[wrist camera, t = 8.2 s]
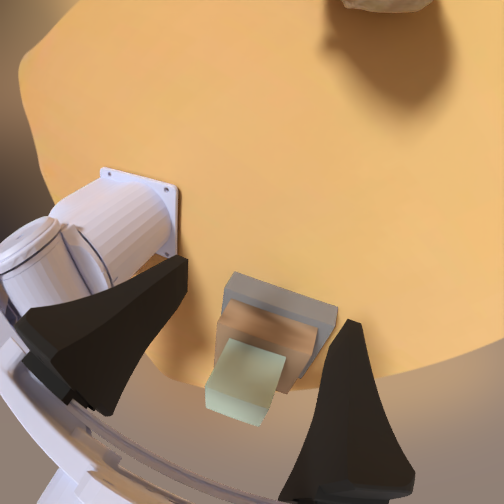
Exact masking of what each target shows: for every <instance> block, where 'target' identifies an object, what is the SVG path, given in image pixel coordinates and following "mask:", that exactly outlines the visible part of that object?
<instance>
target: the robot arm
mask: <svg viewBox="0 0 504 504" xmlns="http://www.w3.org/2000/svg"><path fill="white" fill-rule="evenodd" d="M166 187H167V188H168V189H169V191H168V190H167V188H166ZM177 218H178V188H177V187H176V186H175V185H173V184H169V183H165V182H162V181H158V180H154V179H150V178H147V177H143V176H139V175H135V174H131V173H127V172H123V171H119V170H115V169H111V168H107V167H103V168H101V169H100V178H98V179H96V180H95V181H93V182H91V183H89V184H87V185H86V186H84V187H82V188H80V189H79V190H77V191H75V192H74V193H72V194H70V195H69V196H67V197H65V198H64V199H62V200H61V201H59V202H58V203H57V204H56V205H55V206H54V208H53V209H52V210H51V212H50V214H49V216H45V217H41V218H39V219H36V220H34V221H32V222H30V223H29V224H27V225H25V226H23V227H22V228H20V229H19V230H17V231H16V232H14V233H13V234H11V235H10V236H9V237H8V238H6V239H5V240H4V241H3V242H2V243H1V244H0V394H1V396H2V397H3V399H4V400H5V402H6V403H7V405H8V406H9V408H10V409H11V410H12V412H13V413H14V415H15V416H16V417H17V419H18V420H19V421H20V423H21V424H22V425H23V427H24V428H25V429H26V430H27V432H28V433H29V434H30V435H31V437H32V438H33V439H34V440H35V441H36V442H37V443H38V445H39V446H40V447H41V448H42V449H43V450H44V452H45V453H46V454H47V455H48V456H49V457H50V458H51V459H52V460H53V461H54V462H55V463H56V464H57V465H58V466H59V469H58V470H57V472H56V473H55V475H54V476H53V478H52V479H51V481H50V483H49V484H48V486H47V488H46V489H45V491H44V492H43V494H42V496H41V497H40V499H39V500H38V502H37V504H195V503H193V502H190V501H188V500H186V499H183V498H181V497H179V496H177V495H175V494H173V493H170V492H168V491H166V490H164V489H162V488H160V487H158V486H156V485H154V484H152V483H150V482H148V481H146V480H145V479H143V478H141V477H139V476H137V475H135V474H134V473H132V472H130V471H128V470H127V469H125V468H123V467H122V466H120V465H119V462H120V460H121V459H122V457H121V456H120V455H118V454H117V453H115V452H114V451H112V450H111V449H109V448H108V447H106V446H105V445H103V444H102V443H101V442H99V441H98V440H96V439H95V438H93V437H92V435H91V430H92V431H94V432H95V433H97V434H98V435H99V436H101V437H102V438H103V439H105V440H106V441H108V442H109V443H111V444H112V445H114V446H115V447H117V448H118V449H120V450H121V451H123V452H125V453H126V454H128V455H129V456H131V457H133V458H134V459H136V460H138V461H140V462H141V463H143V464H145V465H147V466H148V467H151V468H152V469H154V470H156V471H158V472H160V473H162V474H164V475H166V476H168V477H170V478H172V479H174V480H176V481H178V482H180V483H182V484H185V485H187V486H189V487H191V488H194V489H196V490H199V491H201V492H204V493H206V494H209V495H211V496H214V497H216V498H219V499H222V500H225V501H228V502H231V503H234V504H388V503H389V500H390V499H395V498H401V497H405V496H408V495H410V494H412V491H413V486H414V481H415V471H414V469H413V468H412V466H411V464H410V463H409V461H408V460H407V458H406V456H405V455H404V453H403V451H402V449H401V447H400V446H399V444H398V442H397V440H396V437H395V435H394V433H393V431H392V429H391V426H390V424H389V422H388V419H387V417H386V414H385V412H384V409H383V406H382V403H381V400H380V397H379V394H378V391H377V387H376V384H375V381H374V377H373V373H372V369H371V365H370V361H369V357H368V353H367V348H366V343H365V339H364V334H363V329H362V325H361V323H358V322H355V321H352V320H350V319H347V321H346V322H345V324H344V326H343V327H342V329H341V330H340V332H339V333H338V334H337V336H336V337H335V339H334V340H333V342H332V343H331V345H330V346H329V350H328V353H327V356H326V360H325V363H324V367H323V372H322V377H321V383H320V388H319V393H318V398H317V403H316V408H315V412H314V416H313V420H312V423H311V426H310V428H309V431H308V434H307V437H306V439H305V442H304V444H303V447H302V449H301V452H300V454H299V456H298V459H297V461H296V463H295V465H294V468H293V470H292V472H291V474H290V476H289V478H288V480H287V482H286V484H285V486H284V488H283V489H282V491H281V493H280V495H279V498H278V501H276V500H272V499H268V498H265V497H261V496H257V495H254V494H251V493H247V492H244V491H241V490H238V489H234V488H232V487H229V486H226V485H223V484H221V483H218V482H215V481H213V480H210V479H208V478H205V477H203V476H200V475H198V474H196V473H193V472H191V471H189V470H187V469H185V468H182V467H180V466H178V465H176V464H174V463H172V462H170V461H168V460H166V459H164V458H162V457H160V456H158V455H156V454H154V453H153V452H151V451H149V450H147V449H145V448H144V447H142V446H140V445H139V444H137V443H135V442H134V441H132V440H130V439H129V438H127V437H125V436H124V435H122V434H121V433H119V432H118V431H116V430H115V429H113V428H112V427H110V426H109V425H107V424H106V423H104V422H103V421H101V420H100V419H99V418H97V417H96V416H95V415H93V414H92V413H90V412H89V411H88V410H87V407H89V408H90V409H91V410H93V411H95V410H97V411H98V412H99V413H101V414H102V415H104V416H111V415H113V412H114V410H115V407H116V405H117V403H118V401H119V399H120V396H121V394H122V392H123V390H124V388H125V386H126V384H127V382H128V380H129V378H130V376H131V375H132V373H133V371H134V369H135V367H136V365H137V364H138V362H139V360H140V358H141V357H142V355H143V354H144V352H145V350H146V349H147V347H148V346H149V345H150V343H151V342H152V341H153V339H154V338H155V337H156V335H157V334H158V333H159V332H160V330H161V329H162V328H163V327H164V325H165V324H166V323H167V321H168V320H169V319H170V318H171V316H172V315H173V314H174V312H175V311H176V310H177V308H178V307H179V305H180V303H181V302H182V300H183V298H184V296H185V295H186V293H187V283H188V259H186V258H184V257H181V256H179V255H177ZM155 253H156V254H159V255H161V256H164V257H166V258H168V259H167V260H165V261H163V262H161V263H159V264H157V265H156V266H154V267H152V268H150V269H148V270H146V271H144V272H143V273H141V274H139V275H137V276H135V277H133V278H131V277H132V276H133V275H134V274H135V273H136V272H137V271H138V270H139V269H140V268H141V267H142V266H143V265H144V264H145V263H146V262H147V261H148V260H149V259H150V258H151V257H152V256H153V255H154V254H155ZM130 278H131V279H130ZM89 428H90V429H91V430H90V429H89ZM285 502H286V503H285Z"/></svg>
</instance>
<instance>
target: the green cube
mask: <svg viewBox="0 0 504 504" xmlns="http://www.w3.org/2000/svg"><path fill="white" fill-rule="evenodd" d="M285 360H286V357H285V356H281V355H278V354H275V353H272V352H269V351H266V350H263V349H260V348H257V347H254V346H251V345H248V344H245V343H242V342H240V341H237V340H234V339H231V338H229V340H228V342H227V344H226V346H225V348H224V350H223V352H222V354H221V355H220V357H219V359H218V361H217V363H216V365H215V367H214V369H213V371H212V373H211V375H210V377H209V379H208V381H207V383H206V385H205V397H206V398H205V399H206V408H208V409H211V410H213V411H216V412H218V413H221V414H224V415H227V416H229V417H232V418H234V419H237V420H240V421H243V422H246V423H249V424H252V425H255V426H258V427H259V426H260V424H261V422H262V421H263V419H264V417H265V415H266V414H267V412H268V410H269V408H270V404H271V402H272V399H273V396H274V393H275V390H276V387H277V384H278V381H279V378H280V375H281V372H282V369H283V366H284V363H285Z"/></svg>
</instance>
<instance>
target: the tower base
mask: <svg viewBox="0 0 504 504" xmlns="http://www.w3.org/2000/svg"><path fill="white" fill-rule="evenodd" d="M231 298H232V299H235V300H238V301H240V302H243V303H246V304H249V305H252V306H254V307H257V308H260V309H263V310H266V311H269V312H272V313H274V314H277V315H280V316H283V317H286V318H289V319H292V320H295V321H298V322H301V323H304V324H307V325H311V326H314V327H317V328H318V331H317V335H316V339H315V344H314V348H313V352H312V356H311V357H310V359H309V361H308V362H307V364H306V365H305V367H304V369H303V370H302V372H301V373H300V375H299V377H298V378H300V379H301V378H302V377H303V375H304V374H305V372H306V371H307V369H308V368H309V366H310V365H311V363H312V362H313V360H314V359H315V357H316V356H317V354H318V353H319V351H320V350H321V348H322V347H323V345H324V343H325V342H326V340H327V339H328V337H329V335H330V334H331V332H332V331H333V329H334V327H335V324H336V317H337V311H338V307H336V306H333V305H330V304H327V303H324V302H321V301H318V300H315V299H312V298H309V297H307V296H304V295H301V294H298V293H295V292H292V291H289V290H286V289H283V288H280V287H277V286H275V285H272V284H269V283H266V282H263V281H260V280H257V279H255V278H252V277H249V276H246V275H243V274H241V273H238V272H234V273H233V275H232V276H231V278H230V280H229V281H228V283H227V284H226V286H225V288H224V295H223V304H222V312H221V315H222V313H223V312H224V310H225V308H226V306H227V305H228V303H229V301H230V299H231Z"/></svg>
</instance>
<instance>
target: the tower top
mask: <svg viewBox="0 0 504 504" xmlns="http://www.w3.org/2000/svg"><path fill="white" fill-rule="evenodd" d="M317 331H318V328H317V327H314V326H311V325H307V324H304V323H301V322H298V321H295V320H292V319H289V318H286V317H283V316H280V315H277V314H274V313H272V312H269V311H266V310H263V309H260V308H257V307H254V306H252V305H249V304H246V303H243V302H240V301H238V300H235V299H232V298H231V299H230V301H229V303H228V305H227V306H226V308H225V310H224V312H223V313H222V315H221V317H220V318H219V320H218V322H217V333H216V345H215V359H214V367H215V365H216V363H217V361H218V359H219V357H220V355H221V354H222V352H223V350H224V348H225V346H226V344H227V342H228V340H229V338H231V339H234V340H237V341H240V342H242V343H245V344H248V345H251V346H254V347H257V348H260V349H263V350H266V351H269V352H272V353H275V354H278V355H281V356H285V357H286V360H285V363H284V366H283V369H282V372H281V375H280V378H279V381H278V384H277V387H276V390H275V391H278V392H281V393H285V394H288V392H289V391H290V389H291V388H292V386H293V384H294V383H295V381H296V380H297V378H298V377H299V375H300V373H301V372H302V370H303V369H304V367H305V365H306V364H307V362H308V361H309V359H310V357H311V356H312V352H313V348H314V344H315V339H316V335H317Z"/></svg>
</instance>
